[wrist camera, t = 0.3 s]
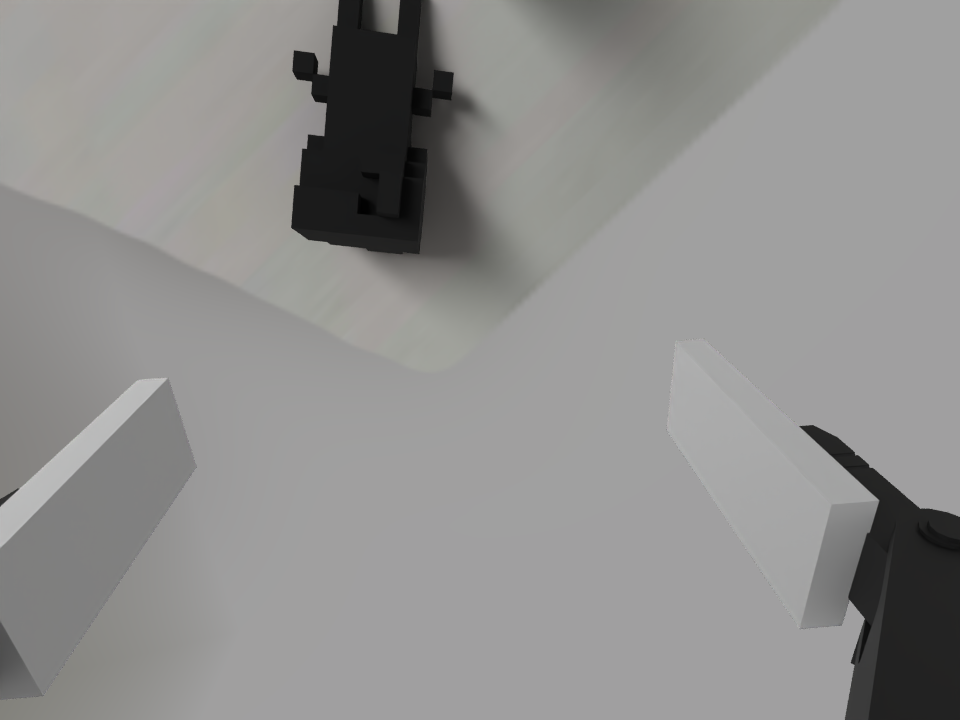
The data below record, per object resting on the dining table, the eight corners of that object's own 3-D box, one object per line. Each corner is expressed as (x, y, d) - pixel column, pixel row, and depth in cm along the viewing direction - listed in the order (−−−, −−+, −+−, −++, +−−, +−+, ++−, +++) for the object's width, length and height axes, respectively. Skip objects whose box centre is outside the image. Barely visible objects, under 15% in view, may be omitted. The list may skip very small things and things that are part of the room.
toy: (464, -46, 30) (438, 240, 31) (456, 32, 38) (436, 257, 39) (285, -75, 29) (263, 221, 30) (315, 11, 37) (298, 243, 38)
